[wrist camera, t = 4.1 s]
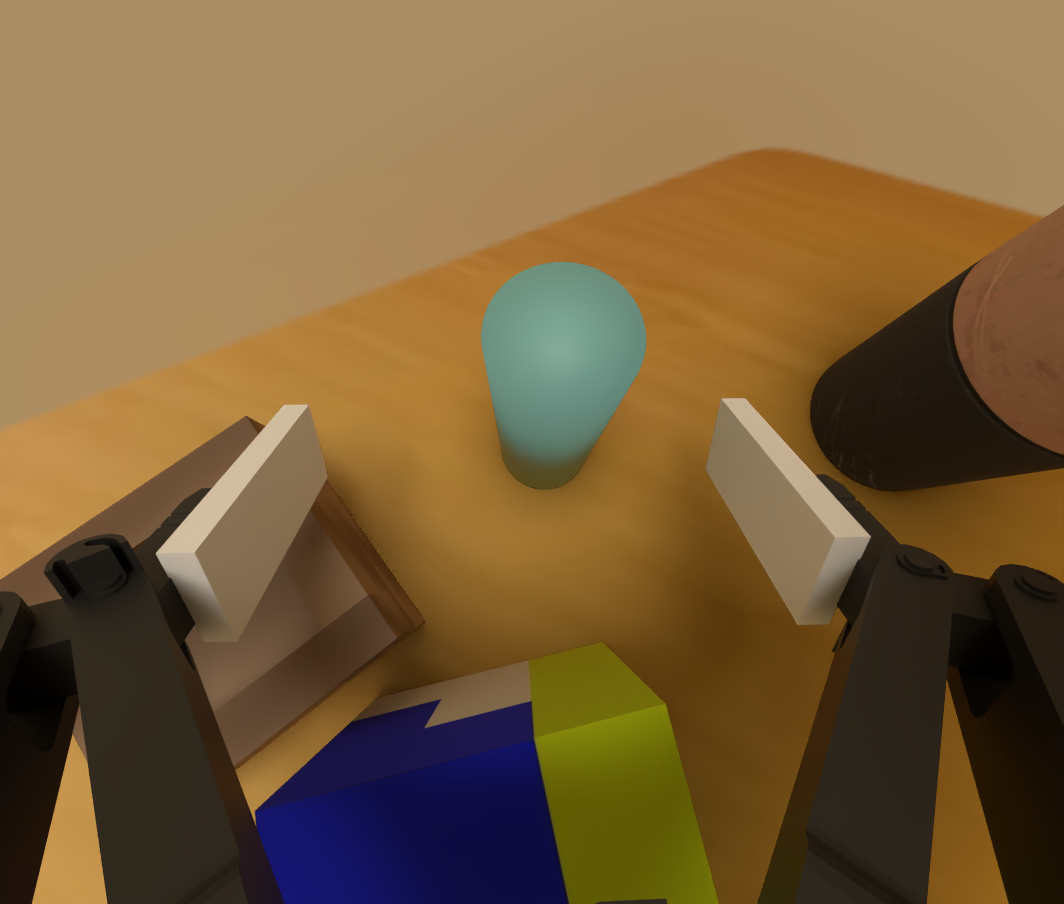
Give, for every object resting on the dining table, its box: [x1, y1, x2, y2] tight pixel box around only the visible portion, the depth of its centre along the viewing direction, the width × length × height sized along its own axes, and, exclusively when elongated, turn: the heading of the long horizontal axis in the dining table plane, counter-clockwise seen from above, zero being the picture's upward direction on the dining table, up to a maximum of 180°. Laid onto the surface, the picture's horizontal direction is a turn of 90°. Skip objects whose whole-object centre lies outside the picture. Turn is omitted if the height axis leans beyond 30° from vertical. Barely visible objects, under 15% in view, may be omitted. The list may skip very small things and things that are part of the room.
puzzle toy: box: [255, 642, 719, 904], centre depth 16 cm, size 10×10×10 cm
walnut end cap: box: [0, 416, 425, 770], centre depth 20 cm, size 10×10×5 cm
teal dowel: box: [481, 262, 646, 489], centre depth 18 cm, size 4×4×12 cm
